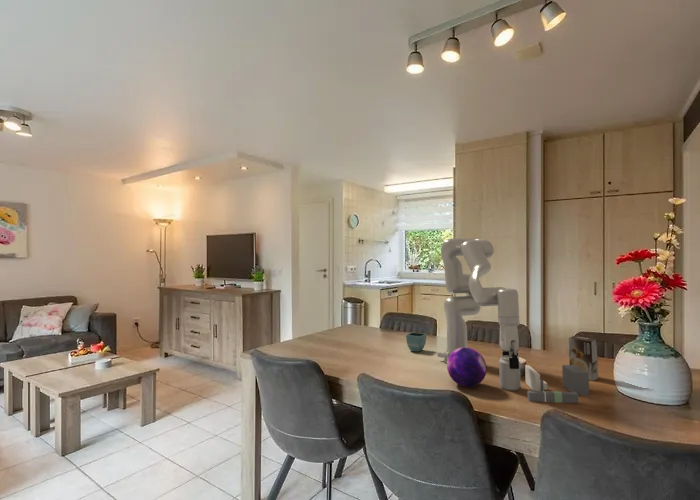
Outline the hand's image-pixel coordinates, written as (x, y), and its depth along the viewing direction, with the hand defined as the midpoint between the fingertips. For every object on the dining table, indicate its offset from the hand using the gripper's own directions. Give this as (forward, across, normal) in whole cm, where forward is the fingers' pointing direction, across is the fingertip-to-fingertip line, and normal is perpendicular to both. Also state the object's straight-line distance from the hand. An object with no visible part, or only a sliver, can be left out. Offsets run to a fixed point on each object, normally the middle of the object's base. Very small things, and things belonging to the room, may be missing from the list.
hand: (510, 365), depth 143 cm
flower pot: (+7, -56, -34) cm, 66 cm away
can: (+9, -1, 0) cm, 9 cm away
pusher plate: (+9, +1, +10) cm, 13 cm away
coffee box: (+9, -18, +34) cm, 39 cm away
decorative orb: (+9, -2, -16) cm, 19 cm away
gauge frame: (+9, +3, +14) cm, 17 cm away
